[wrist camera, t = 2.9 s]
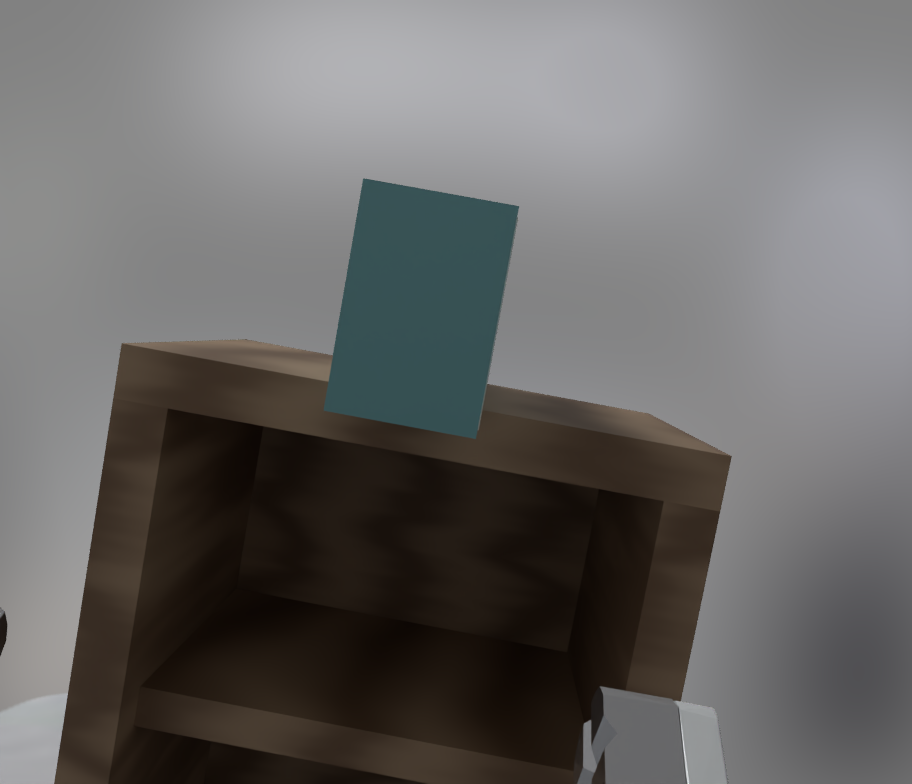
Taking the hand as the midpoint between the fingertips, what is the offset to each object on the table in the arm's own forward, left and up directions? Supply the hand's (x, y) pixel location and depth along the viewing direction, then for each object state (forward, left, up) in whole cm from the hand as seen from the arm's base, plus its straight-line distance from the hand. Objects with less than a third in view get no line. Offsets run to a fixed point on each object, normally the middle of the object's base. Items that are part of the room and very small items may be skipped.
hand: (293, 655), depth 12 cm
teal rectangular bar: (0, -23, +2) cm, 23 cm away
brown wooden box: (0, -28, -24) cm, 37 cm away
